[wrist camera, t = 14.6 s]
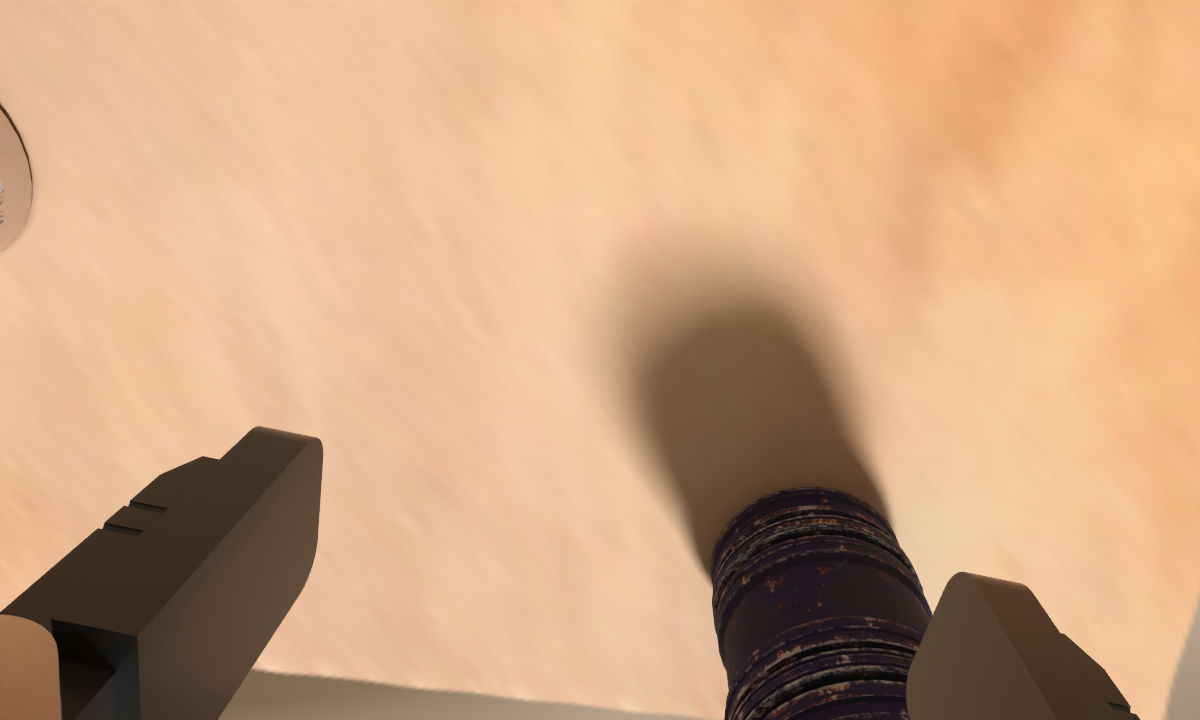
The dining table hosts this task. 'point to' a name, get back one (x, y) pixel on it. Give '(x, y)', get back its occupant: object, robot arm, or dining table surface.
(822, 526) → the dark blue barrel
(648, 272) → the dining table surface
